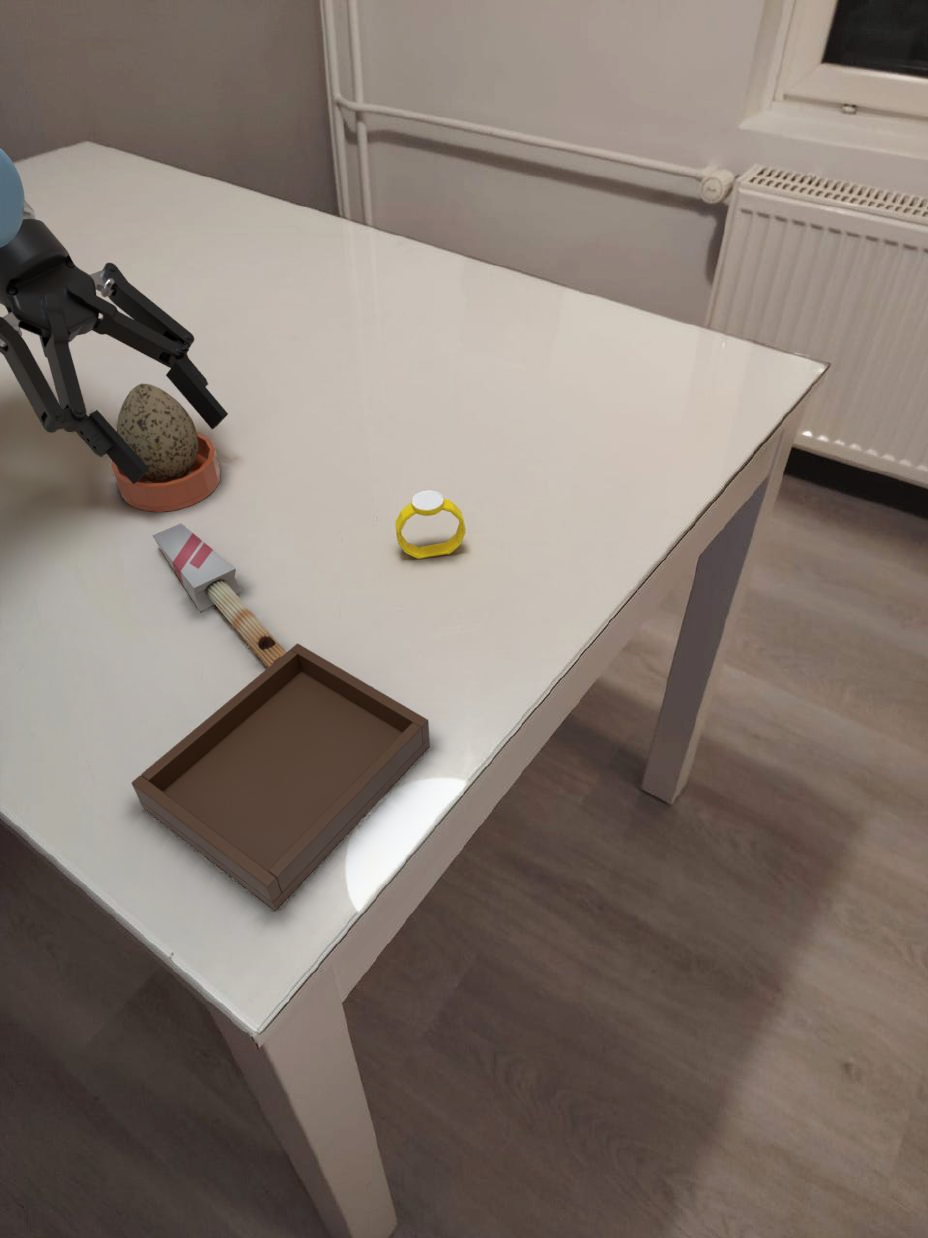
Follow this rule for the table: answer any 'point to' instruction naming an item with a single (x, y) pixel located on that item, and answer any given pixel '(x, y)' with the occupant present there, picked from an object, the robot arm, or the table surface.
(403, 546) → the watch
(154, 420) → the decorative egg
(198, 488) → the shallow dish
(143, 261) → the table surface
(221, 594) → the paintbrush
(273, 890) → the tray
